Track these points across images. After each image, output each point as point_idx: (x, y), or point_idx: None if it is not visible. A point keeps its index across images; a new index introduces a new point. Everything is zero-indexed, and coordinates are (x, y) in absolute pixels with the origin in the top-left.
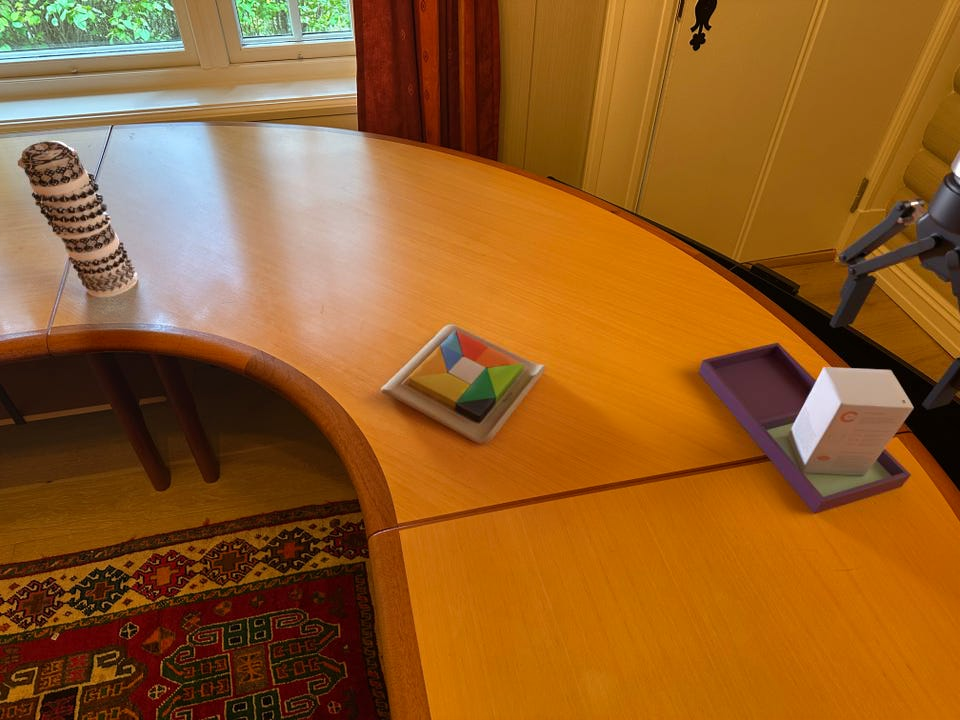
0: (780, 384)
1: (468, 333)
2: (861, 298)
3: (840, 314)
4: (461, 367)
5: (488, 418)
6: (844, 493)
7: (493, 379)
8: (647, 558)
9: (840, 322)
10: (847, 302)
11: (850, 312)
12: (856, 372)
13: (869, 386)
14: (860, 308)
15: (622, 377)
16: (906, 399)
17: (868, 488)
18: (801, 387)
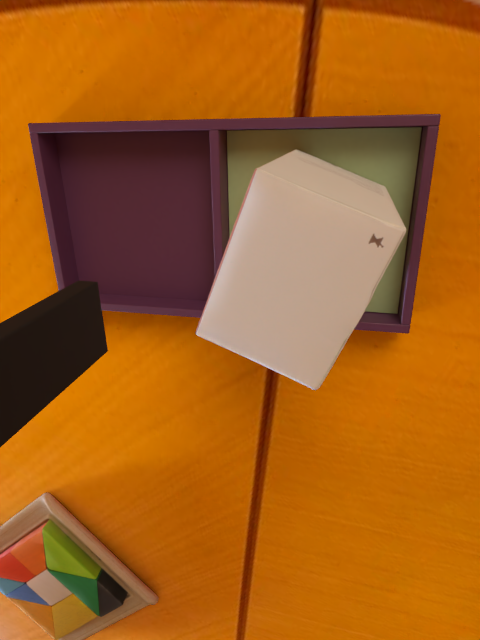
0: (133, 176)
1: None
2: (27, 349)
3: (75, 376)
4: (44, 592)
5: (123, 583)
6: (412, 285)
7: (67, 570)
8: (364, 542)
9: (94, 343)
10: (44, 407)
11: (70, 341)
12: (236, 274)
13: (293, 286)
14: (58, 307)
15: (75, 407)
16: (373, 228)
17: (423, 231)
18: (149, 136)
